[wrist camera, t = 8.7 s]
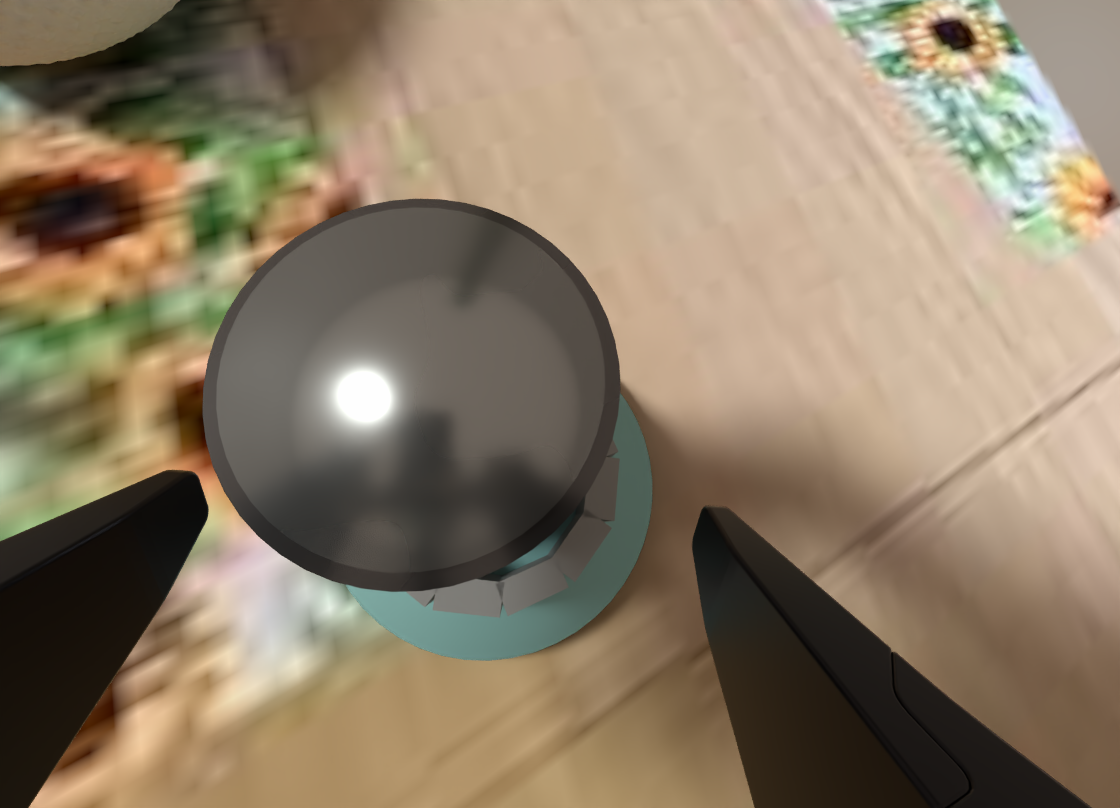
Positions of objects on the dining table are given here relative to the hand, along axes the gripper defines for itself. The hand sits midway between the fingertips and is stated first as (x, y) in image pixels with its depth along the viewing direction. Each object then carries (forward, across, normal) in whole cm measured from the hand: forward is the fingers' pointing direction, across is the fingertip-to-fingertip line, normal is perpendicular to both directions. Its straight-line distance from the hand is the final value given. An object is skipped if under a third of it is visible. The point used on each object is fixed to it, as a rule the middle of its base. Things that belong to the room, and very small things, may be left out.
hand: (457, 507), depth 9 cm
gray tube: (+8, 0, +6) cm, 9 cm away
